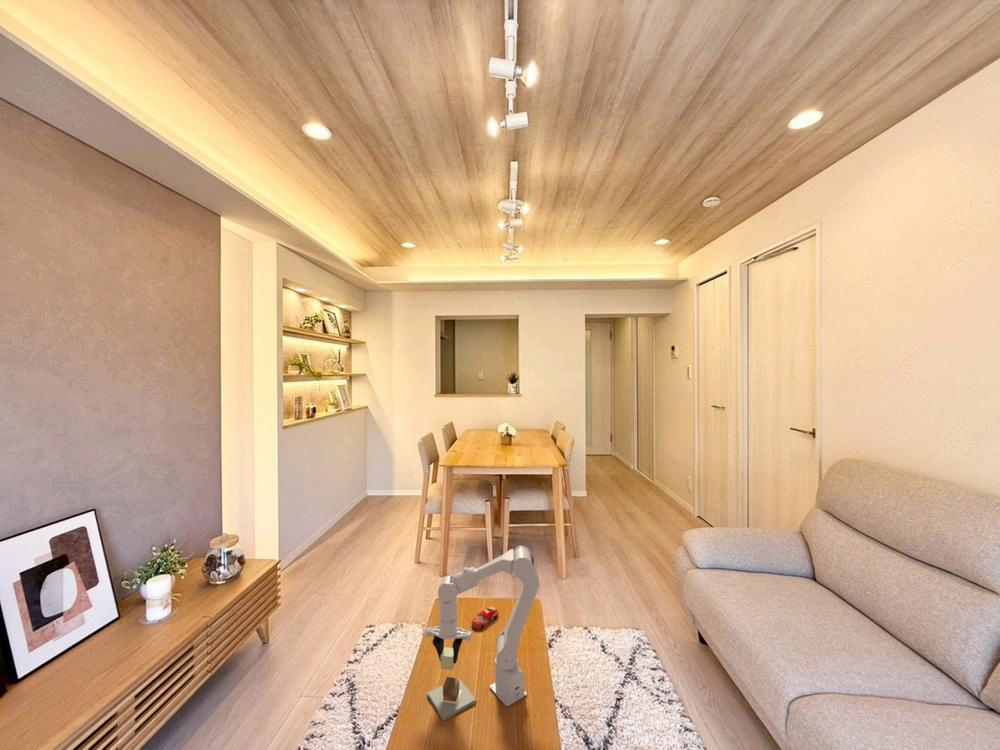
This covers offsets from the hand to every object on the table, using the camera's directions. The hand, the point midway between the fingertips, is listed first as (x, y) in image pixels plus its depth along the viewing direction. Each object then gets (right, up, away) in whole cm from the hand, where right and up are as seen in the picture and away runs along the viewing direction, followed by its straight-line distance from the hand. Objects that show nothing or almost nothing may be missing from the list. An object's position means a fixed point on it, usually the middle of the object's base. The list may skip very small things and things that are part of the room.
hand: (448, 660), depth 125 cm
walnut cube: (+1, -8, -4) cm, 9 cm away
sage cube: (0, -1, 0) cm, 1 cm away
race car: (+10, -10, +35) cm, 38 cm away
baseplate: (+1, -9, -4) cm, 10 cm away
